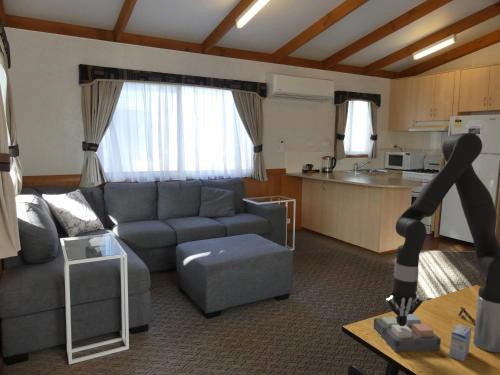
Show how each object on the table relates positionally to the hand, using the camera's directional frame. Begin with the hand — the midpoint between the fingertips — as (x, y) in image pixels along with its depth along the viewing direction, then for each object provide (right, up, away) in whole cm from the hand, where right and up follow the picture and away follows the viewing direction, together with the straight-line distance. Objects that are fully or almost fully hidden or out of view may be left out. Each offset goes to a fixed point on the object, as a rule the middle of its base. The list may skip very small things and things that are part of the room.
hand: (401, 325), depth 132 cm
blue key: (+7, -2, +9) cm, 11 cm away
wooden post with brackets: (+34, -6, +20) cm, 40 cm away
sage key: (-1, -3, +8) cm, 8 cm away
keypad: (+3, -7, +5) cm, 9 cm away
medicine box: (+18, -9, -4) cm, 20 cm away
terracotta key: (+8, -3, +1) cm, 8 cm away
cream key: (0, -3, 0) cm, 3 cm away
